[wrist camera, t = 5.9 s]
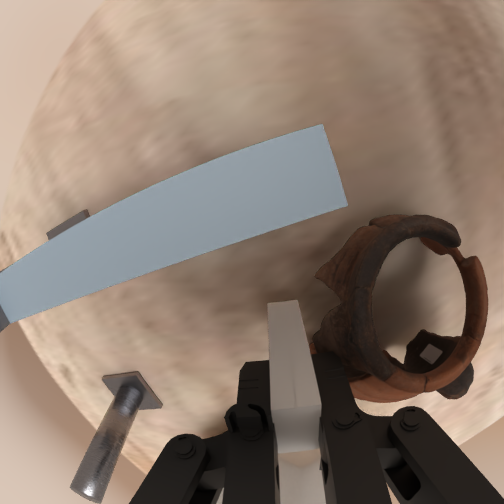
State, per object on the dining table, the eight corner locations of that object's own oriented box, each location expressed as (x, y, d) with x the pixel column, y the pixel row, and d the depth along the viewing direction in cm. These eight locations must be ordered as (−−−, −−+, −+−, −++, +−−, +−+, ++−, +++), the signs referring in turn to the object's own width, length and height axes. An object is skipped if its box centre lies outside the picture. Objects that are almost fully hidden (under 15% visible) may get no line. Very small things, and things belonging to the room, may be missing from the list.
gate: (70, 266, 14) (-30, 344, 6) (59, 243, 14) (-48, 309, 6) (296, 178, 13) (362, 214, 4) (285, 145, 12) (333, 118, 4)
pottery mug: (259, 333, 16) (273, 352, 8) (341, 212, 18) (399, 149, 10) (395, 419, 15) (467, 461, 7) (456, 308, 17) (537, 299, 9)
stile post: (138, 371, 17) (83, 486, 8) (162, 404, 18) (126, 513, 9) (103, 376, 18) (47, 473, 8) (128, 407, 19) (86, 502, 9)
